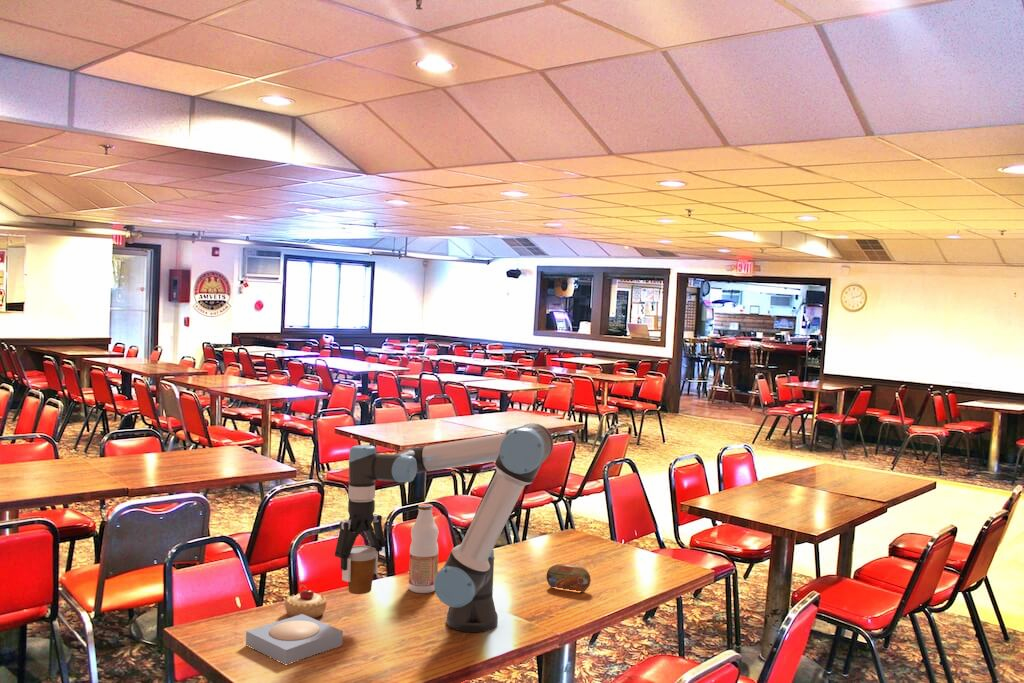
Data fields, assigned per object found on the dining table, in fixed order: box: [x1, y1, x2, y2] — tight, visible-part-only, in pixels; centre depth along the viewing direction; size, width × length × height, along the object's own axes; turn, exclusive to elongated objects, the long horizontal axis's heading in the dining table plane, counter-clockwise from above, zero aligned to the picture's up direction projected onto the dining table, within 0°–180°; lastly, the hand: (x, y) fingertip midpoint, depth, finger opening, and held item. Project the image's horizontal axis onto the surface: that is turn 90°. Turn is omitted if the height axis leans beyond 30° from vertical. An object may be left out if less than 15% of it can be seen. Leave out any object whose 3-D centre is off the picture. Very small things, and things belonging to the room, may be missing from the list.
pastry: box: [284, 584, 327, 619], centre depth 240 cm, size 12×12×9 cm
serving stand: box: [245, 614, 344, 665], centre depth 216 cm, size 18×18×4 cm
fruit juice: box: [408, 503, 439, 594], centre depth 266 cm, size 9×9×28 cm
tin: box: [546, 563, 592, 593], centre depth 270 cm, size 15×3×8 cm, turn 68°
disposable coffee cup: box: [347, 545, 377, 595], centre depth 232 cm, size 10×10×12 cm
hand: (360, 576), depth 232 cm, fingers closed on disposable coffee cup, 9 cm apart
